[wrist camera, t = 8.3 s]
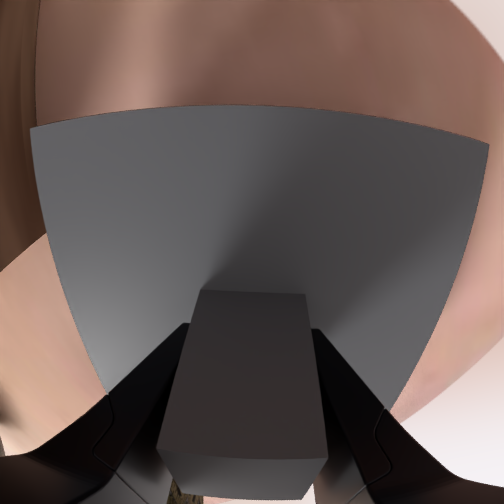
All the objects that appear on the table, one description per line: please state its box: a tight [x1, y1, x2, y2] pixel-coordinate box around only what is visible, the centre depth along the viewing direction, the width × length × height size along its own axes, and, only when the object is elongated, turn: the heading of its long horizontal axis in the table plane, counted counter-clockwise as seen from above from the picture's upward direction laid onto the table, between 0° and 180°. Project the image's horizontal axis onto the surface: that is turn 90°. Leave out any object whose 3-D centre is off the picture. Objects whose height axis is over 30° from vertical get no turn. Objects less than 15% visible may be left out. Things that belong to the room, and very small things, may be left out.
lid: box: [30, 105, 489, 500], centre depth 8 cm, size 13×13×6 cm
